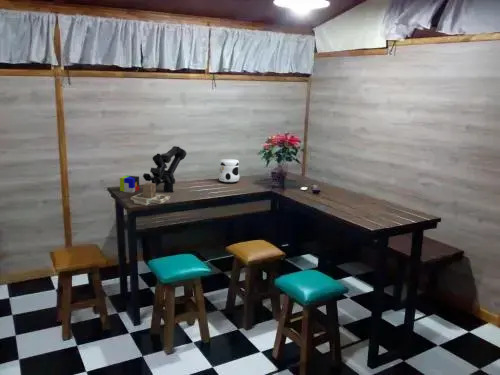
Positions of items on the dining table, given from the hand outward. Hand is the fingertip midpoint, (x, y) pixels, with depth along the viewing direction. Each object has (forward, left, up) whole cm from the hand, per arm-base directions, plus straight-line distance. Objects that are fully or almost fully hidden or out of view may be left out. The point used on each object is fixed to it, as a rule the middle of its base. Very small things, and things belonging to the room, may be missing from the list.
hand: (152, 188), depth 296 cm
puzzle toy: (+14, -26, -7) cm, 30 cm away
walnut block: (+2, +3, -5) cm, 7 cm away
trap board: (+2, +4, -7) cm, 8 cm away
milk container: (-66, -45, -7) cm, 81 cm away
